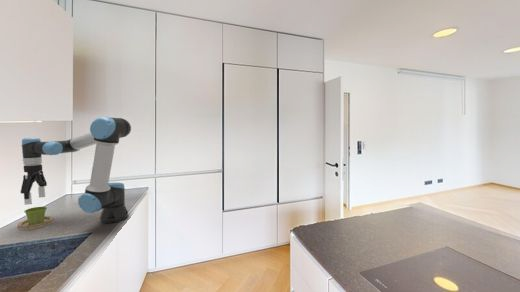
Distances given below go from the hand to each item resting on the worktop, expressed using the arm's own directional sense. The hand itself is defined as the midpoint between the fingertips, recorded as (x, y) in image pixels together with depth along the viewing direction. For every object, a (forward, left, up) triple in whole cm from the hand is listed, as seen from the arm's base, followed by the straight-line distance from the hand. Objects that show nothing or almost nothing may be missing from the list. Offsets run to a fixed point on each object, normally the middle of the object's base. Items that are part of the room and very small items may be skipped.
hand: (35, 200), depth 130 cm
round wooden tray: (0, 0, -14) cm, 14 cm away
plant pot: (0, 0, -14) cm, 14 cm away
